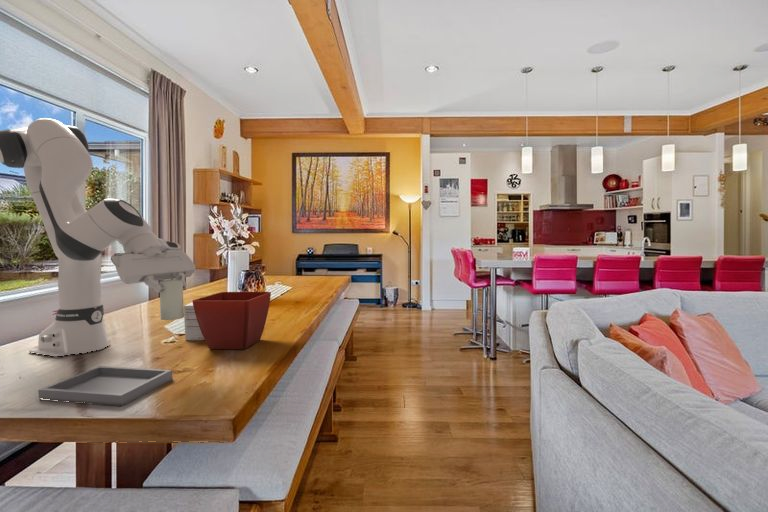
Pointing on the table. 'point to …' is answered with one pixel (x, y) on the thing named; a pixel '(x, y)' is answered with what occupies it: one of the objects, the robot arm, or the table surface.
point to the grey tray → (107, 385)
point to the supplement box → (191, 324)
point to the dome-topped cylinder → (171, 300)
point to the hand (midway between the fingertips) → (172, 289)
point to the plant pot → (232, 318)
